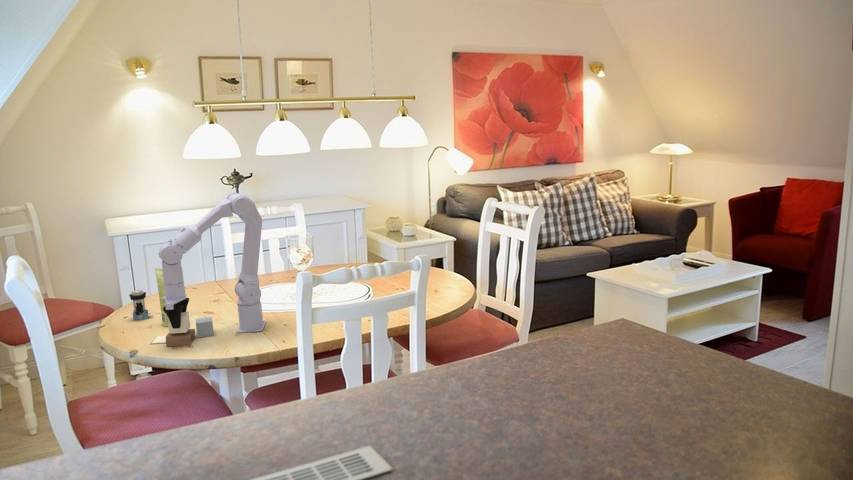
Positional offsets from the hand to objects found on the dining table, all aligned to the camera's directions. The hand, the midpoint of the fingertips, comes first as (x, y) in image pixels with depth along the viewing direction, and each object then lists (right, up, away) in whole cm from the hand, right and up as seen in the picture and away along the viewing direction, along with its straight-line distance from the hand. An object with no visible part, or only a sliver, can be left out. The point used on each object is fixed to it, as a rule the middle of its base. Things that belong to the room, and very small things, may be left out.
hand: (179, 325), depth 205 cm
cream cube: (0, -2, 0) cm, 2 cm away
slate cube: (+6, -4, +8) cm, 10 cm away
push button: (-22, -1, +26) cm, 34 cm away
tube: (-9, -2, +18) cm, 21 cm away
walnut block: (0, -5, +1) cm, 6 cm away
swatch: (-6, -5, +4) cm, 9 cm away
